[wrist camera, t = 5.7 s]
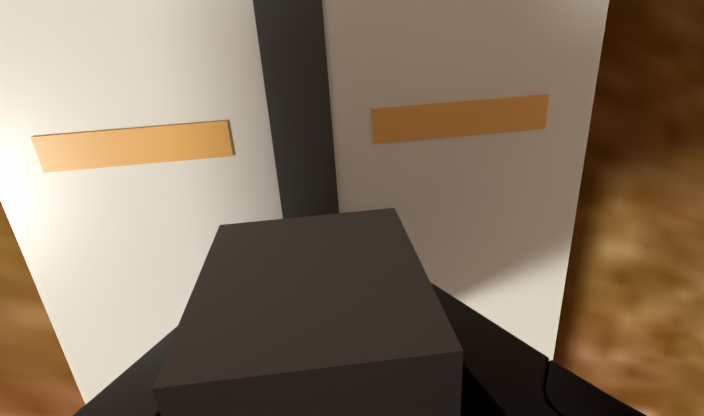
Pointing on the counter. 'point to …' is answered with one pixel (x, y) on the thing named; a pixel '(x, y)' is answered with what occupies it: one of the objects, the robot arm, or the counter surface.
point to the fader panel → (289, 147)
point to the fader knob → (312, 325)
